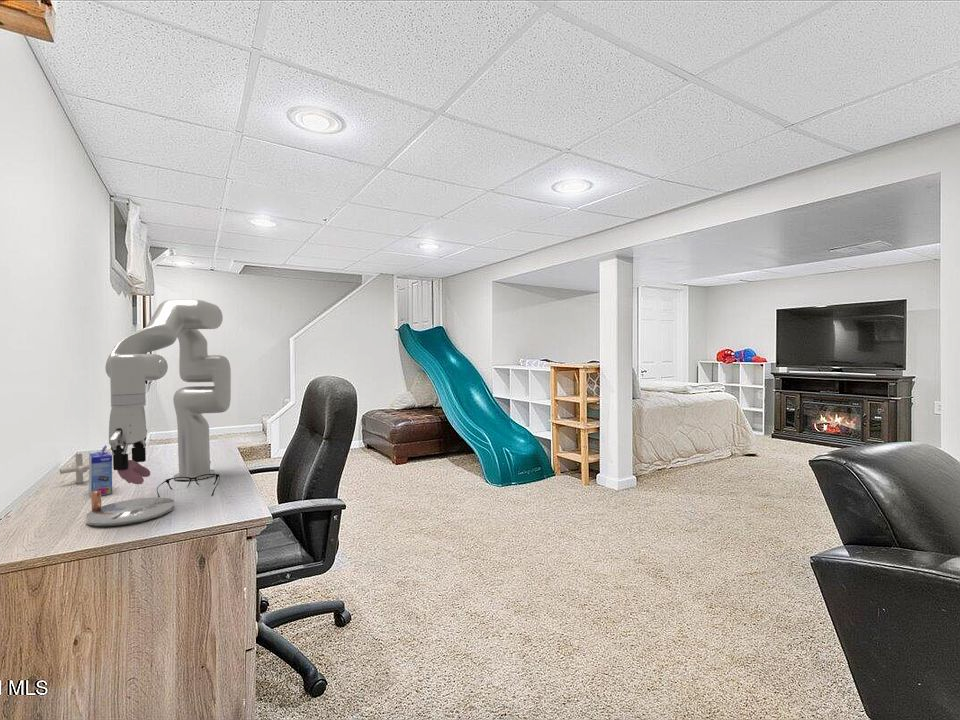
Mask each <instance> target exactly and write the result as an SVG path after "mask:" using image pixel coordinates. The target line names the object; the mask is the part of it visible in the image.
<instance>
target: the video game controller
mask: <svg viewBox="0 0 960 720" xmlns="http://www.w3.org/2000/svg"><path fill="white" fill-rule="evenodd" d="M116 471H117V473H118V475H119V477H120V478H121V479H123V480H125V482H127V484H133V485H142V484H143V483H144V478H149V477H150V476H151V471H150V470H149V468H147V467H145V466H143V465H142V464H140V462H136V461H134V460H133V459H132V458H131V459H128V469H126V470H116Z"/></svg>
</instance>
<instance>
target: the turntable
mask: <svg viewBox="0 0 960 720" xmlns="http://www.w3.org/2000/svg"><path fill="white" fill-rule="evenodd" d="M90 497H91V498H90V499H91V500H90V501H91V510H89V511H88V513H86V515H85V522H86V524H87V525H89V526H92V527H93V526H94V527H115V526H125V525H131V524H134V523H140V522H145V521H149V520H153V519H155V518H158V517H161V516H164V515H166V514H168V513H170V512H172V511H173V509H174V507H175V505H174V504H175V502H174V500H173V499H171V498H169V497H163V496H160V497H158V496H155V497H154V496H153V497H140V498H134V499H133V498H132V499H127V500H121V501H117V502H112V503H109V504H106V505H105V504H104V505H102V495H101V491H100V490H98V491H93V492H91V495H90Z"/></svg>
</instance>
